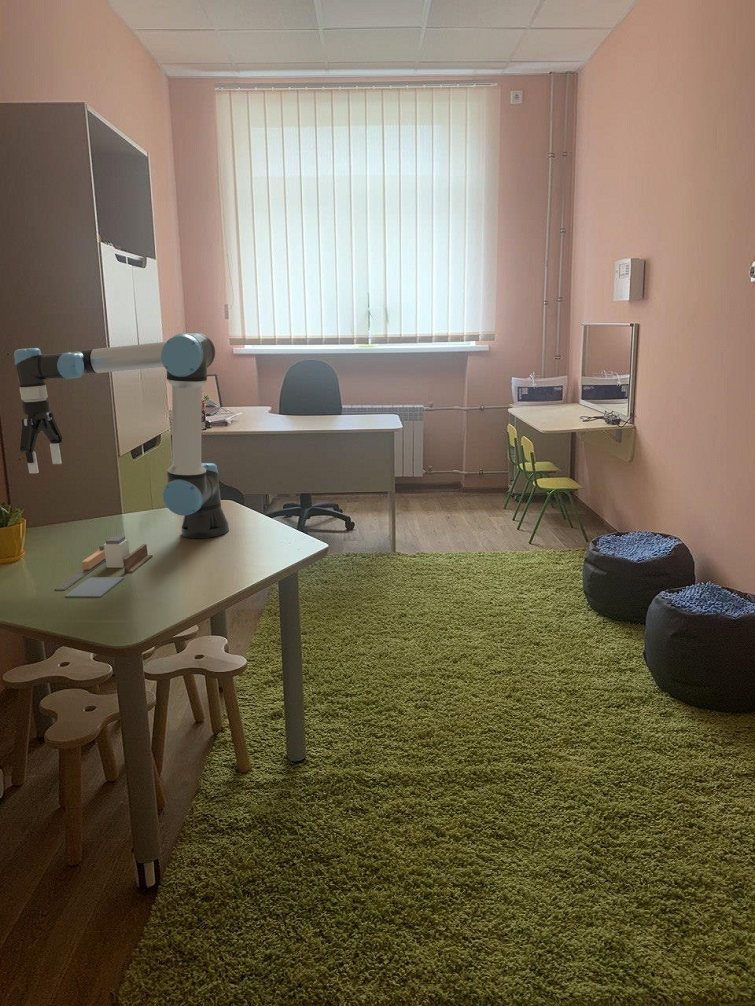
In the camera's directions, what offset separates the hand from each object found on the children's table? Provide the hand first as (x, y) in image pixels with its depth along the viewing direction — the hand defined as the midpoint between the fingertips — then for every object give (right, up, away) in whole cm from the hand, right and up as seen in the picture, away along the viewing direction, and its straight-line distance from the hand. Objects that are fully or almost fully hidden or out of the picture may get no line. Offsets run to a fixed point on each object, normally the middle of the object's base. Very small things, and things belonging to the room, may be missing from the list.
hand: (46, 468), depth 248 cm
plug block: (+28, -29, -15) cm, 42 cm away
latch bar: (+21, -29, -14) cm, 38 cm away
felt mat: (+27, -34, -33) cm, 55 cm away
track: (+20, -31, -21) cm, 42 cm away
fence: (+33, -29, -16) cm, 46 cm away
